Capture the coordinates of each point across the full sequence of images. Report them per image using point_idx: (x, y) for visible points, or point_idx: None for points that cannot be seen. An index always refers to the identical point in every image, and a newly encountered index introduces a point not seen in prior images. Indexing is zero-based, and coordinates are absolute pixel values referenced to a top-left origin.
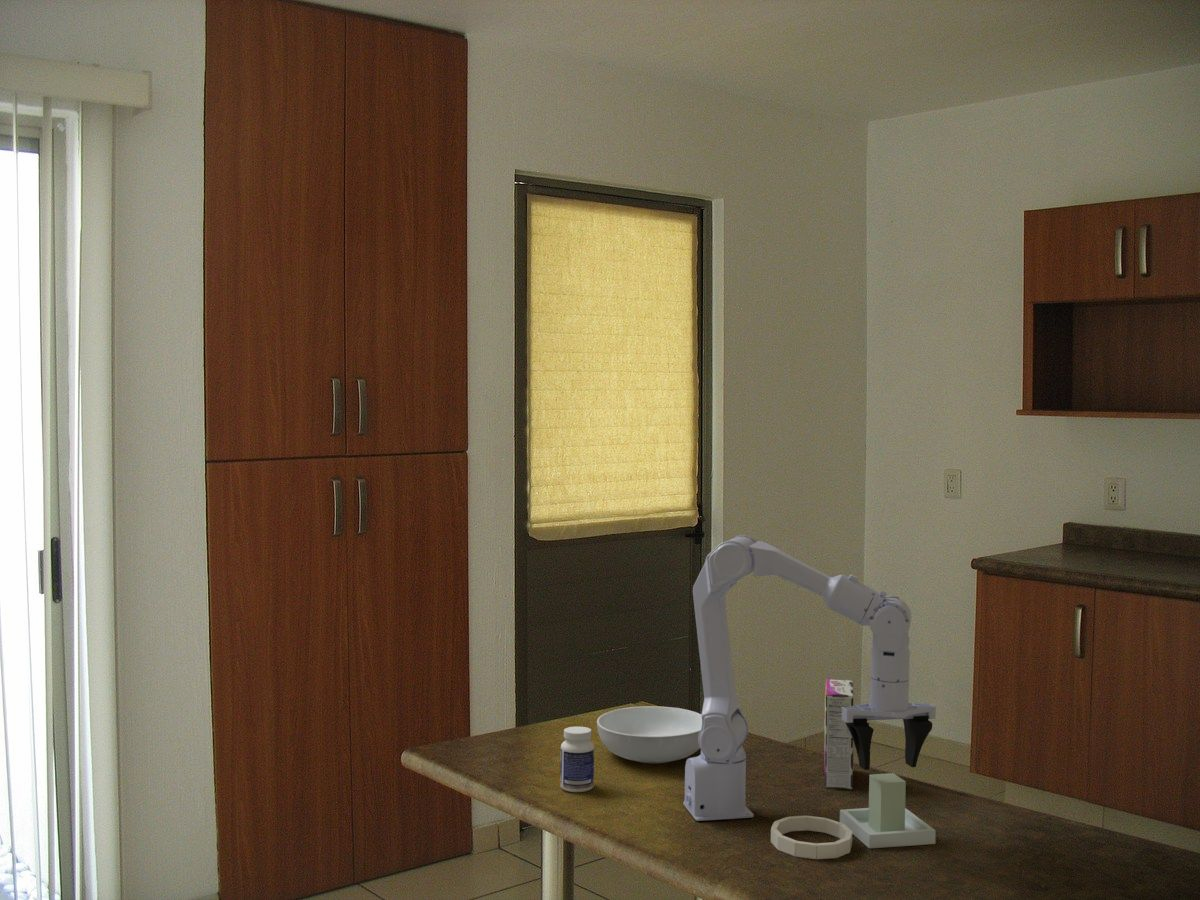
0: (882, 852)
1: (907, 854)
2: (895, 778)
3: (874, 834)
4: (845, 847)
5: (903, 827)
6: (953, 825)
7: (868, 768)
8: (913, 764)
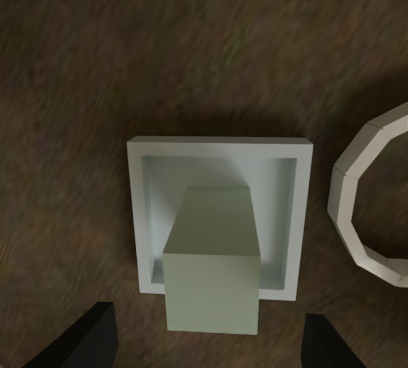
0: (285, 110)
1: (231, 87)
2: (184, 286)
3: (297, 146)
4: (393, 115)
5: (189, 192)
6: (55, 223)
7: (312, 315)
8: (103, 307)
